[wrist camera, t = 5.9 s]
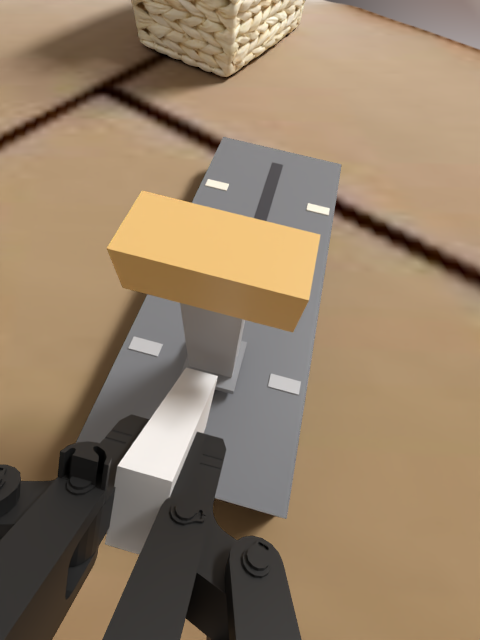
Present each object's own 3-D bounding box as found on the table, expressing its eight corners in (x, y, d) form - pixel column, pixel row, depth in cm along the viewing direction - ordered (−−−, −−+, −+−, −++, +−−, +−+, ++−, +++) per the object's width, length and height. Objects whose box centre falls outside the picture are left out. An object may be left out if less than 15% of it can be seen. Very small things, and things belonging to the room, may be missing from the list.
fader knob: (259, 401, 18) (307, 306, 9) (154, 373, 18) (103, 253, 9) (270, 353, 19) (321, 230, 10) (173, 327, 19) (144, 186, 11)
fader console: (275, 516, 18) (286, 518, 15) (89, 461, 19) (69, 454, 16) (330, 192, 32) (341, 163, 29) (222, 166, 32) (223, 136, 30)
